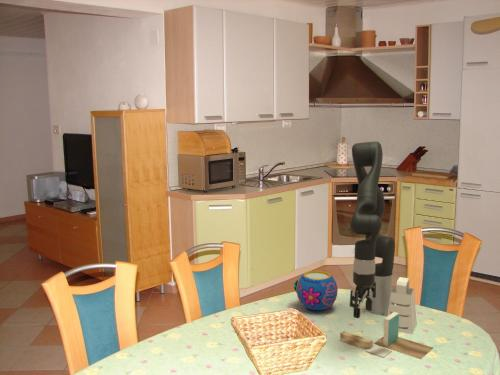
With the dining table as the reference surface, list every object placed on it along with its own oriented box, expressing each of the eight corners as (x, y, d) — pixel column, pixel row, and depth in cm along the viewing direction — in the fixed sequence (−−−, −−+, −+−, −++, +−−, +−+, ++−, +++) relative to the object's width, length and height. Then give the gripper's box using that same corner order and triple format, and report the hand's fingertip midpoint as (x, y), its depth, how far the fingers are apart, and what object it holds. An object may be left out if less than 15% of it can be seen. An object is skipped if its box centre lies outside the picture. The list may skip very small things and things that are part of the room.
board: (387, 336, 201) (387, 333, 201) (433, 350, 189) (433, 347, 189) (373, 346, 193) (373, 343, 193) (420, 361, 181) (420, 359, 181)
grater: (384, 331, 205) (386, 282, 202) (390, 321, 214) (391, 274, 211) (412, 336, 200) (415, 286, 197) (416, 326, 210) (419, 277, 206)
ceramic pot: (314, 297, 241) (314, 265, 238) (345, 308, 228) (346, 275, 225) (287, 307, 229) (287, 274, 227) (319, 319, 216) (319, 284, 214)
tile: (393, 337, 198) (394, 311, 196) (398, 338, 196) (399, 313, 195) (383, 344, 192) (384, 318, 190) (388, 346, 190) (389, 320, 189)
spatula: (337, 343, 194) (337, 335, 193) (346, 337, 198) (346, 329, 198) (383, 359, 182) (384, 350, 181) (391, 352, 186) (392, 344, 186)
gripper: (364, 263, 194) (363, 305, 196) (344, 272, 183) (342, 317, 186) (383, 267, 189) (381, 310, 191) (363, 277, 178) (361, 323, 181)
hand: (362, 313), depth 188 cm, fingers open, 8 cm apart
